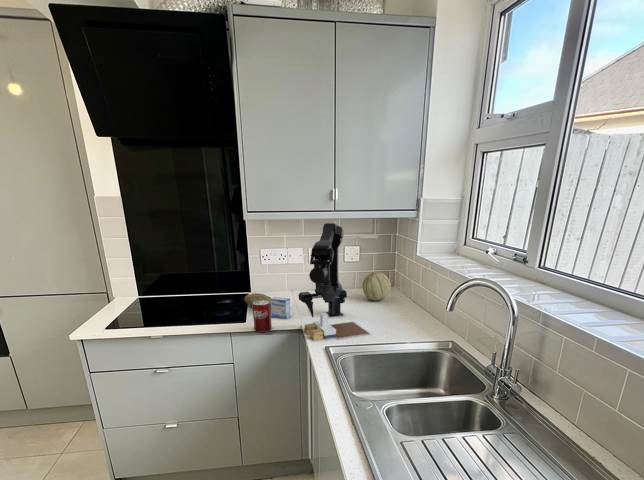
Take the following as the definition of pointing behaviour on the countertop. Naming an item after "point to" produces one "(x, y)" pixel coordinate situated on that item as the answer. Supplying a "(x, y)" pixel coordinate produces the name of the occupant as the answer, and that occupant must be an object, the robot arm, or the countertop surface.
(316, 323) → the brush
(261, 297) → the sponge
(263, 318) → the soda can
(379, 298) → the cantaloupe
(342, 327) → the spill patch
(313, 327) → the crumb
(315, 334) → the crumb
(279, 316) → the medicine box
